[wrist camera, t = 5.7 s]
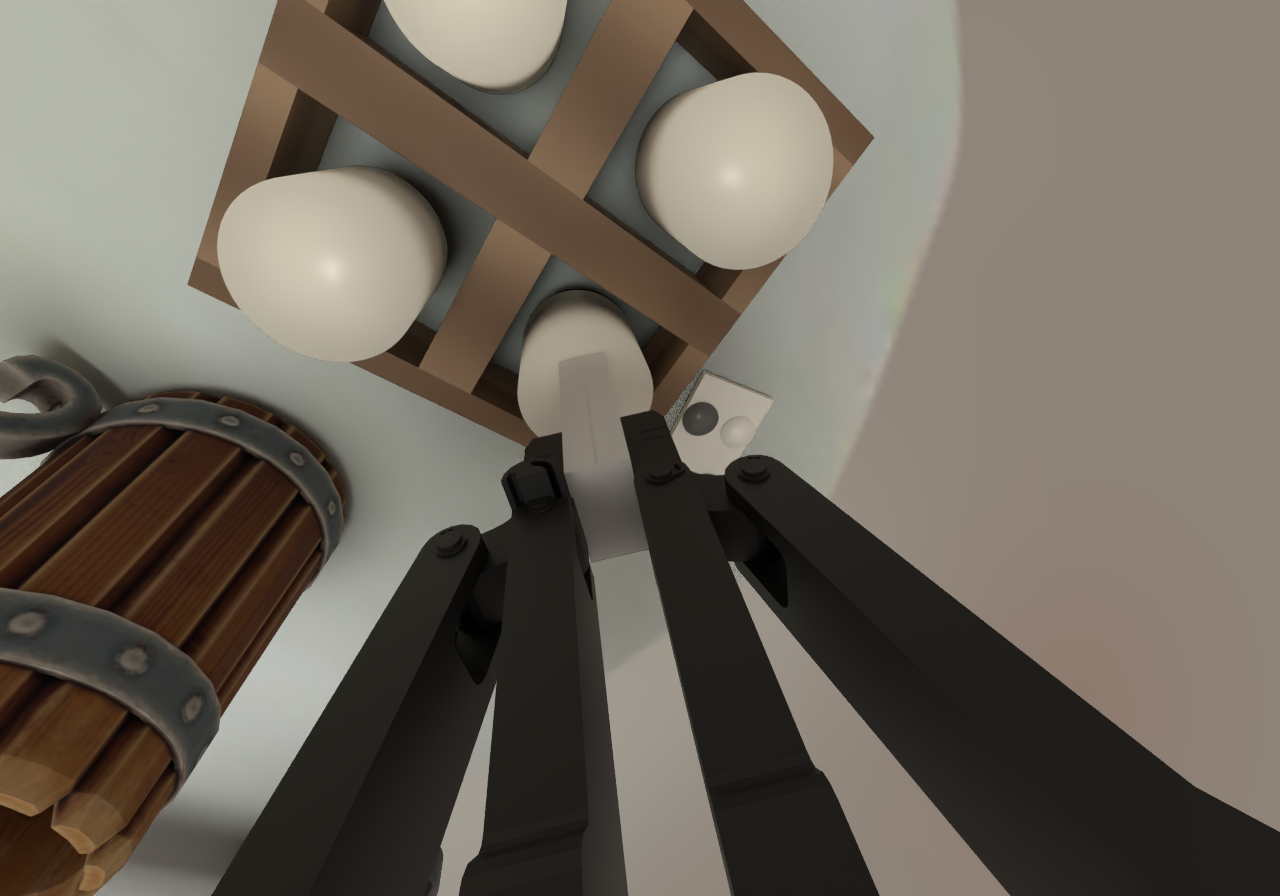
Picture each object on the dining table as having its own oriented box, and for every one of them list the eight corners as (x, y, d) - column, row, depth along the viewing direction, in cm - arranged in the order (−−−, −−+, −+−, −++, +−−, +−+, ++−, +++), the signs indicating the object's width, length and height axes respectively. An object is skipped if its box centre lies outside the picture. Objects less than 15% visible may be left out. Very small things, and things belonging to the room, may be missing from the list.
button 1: (413, 334, 19) (377, 390, 15) (278, 263, 18) (193, 304, 13) (470, 222, 18) (447, 250, 14) (328, 131, 16) (250, 131, 12)
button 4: (711, 265, 20) (757, 300, 16) (609, 188, 18) (629, 205, 14) (792, 149, 18) (867, 154, 14) (689, 52, 16) (740, 24, 12)
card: (698, 518, 30) (700, 524, 29) (634, 499, 29) (635, 506, 28) (771, 397, 27) (775, 402, 26) (702, 370, 25) (706, 374, 25)
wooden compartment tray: (602, 441, 26) (611, 487, 23) (247, 259, 20) (187, 284, 17) (821, 137, 21) (874, 137, 18) (428, -248, 15) (393, -365, 11)
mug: (400, 509, 27) (267, 853, 14) (239, 602, 28) (-15, 993, 15) (88, 219, 19) (-890, 400, 6) (-116, 369, 20) (-1259, 777, 7)
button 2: (595, 412, 24) (606, 472, 20) (502, 362, 22) (492, 416, 18) (653, 328, 22) (679, 373, 18) (559, 267, 21) (562, 301, 16)
